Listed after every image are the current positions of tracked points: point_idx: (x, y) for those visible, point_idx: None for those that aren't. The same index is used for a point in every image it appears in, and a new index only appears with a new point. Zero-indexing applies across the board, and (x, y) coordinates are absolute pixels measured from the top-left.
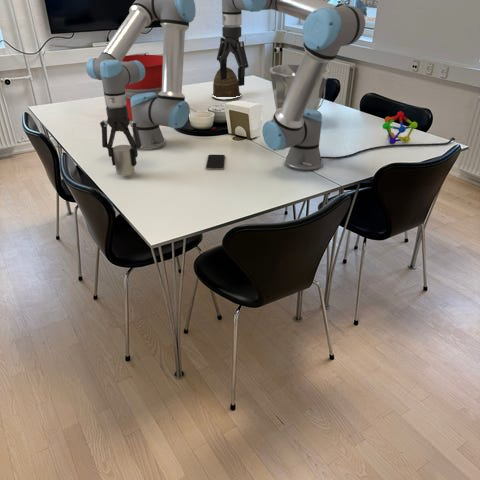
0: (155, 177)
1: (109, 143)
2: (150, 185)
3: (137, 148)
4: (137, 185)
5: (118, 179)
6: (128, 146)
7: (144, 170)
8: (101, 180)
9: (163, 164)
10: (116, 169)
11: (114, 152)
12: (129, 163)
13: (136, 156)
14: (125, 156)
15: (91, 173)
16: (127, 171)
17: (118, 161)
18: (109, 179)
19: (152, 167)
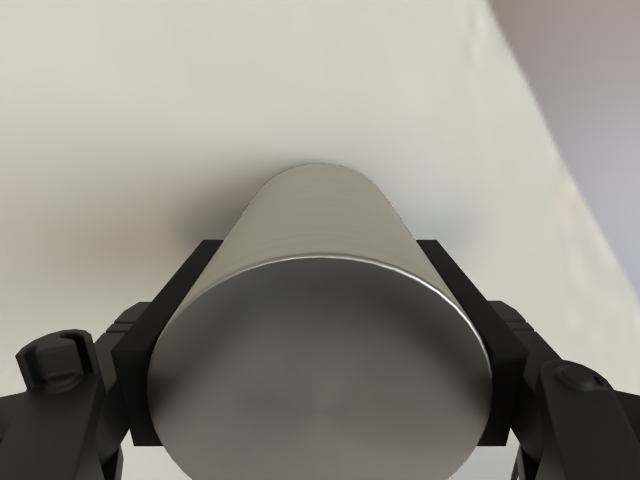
0: (90, 226)
1: (612, 463)
2: (56, 65)
3: (16, 396)
4: (167, 55)
5: (365, 167)
6: (233, 469)
7: None
8: (501, 136)
9: None
10: (388, 201)
11: (431, 274)
12: (234, 225)
13: (131, 308)
14: (240, 235)
15: (598, 259)
16: (273, 182)
17: (355, 200)
18: (439, 161)
19: None
